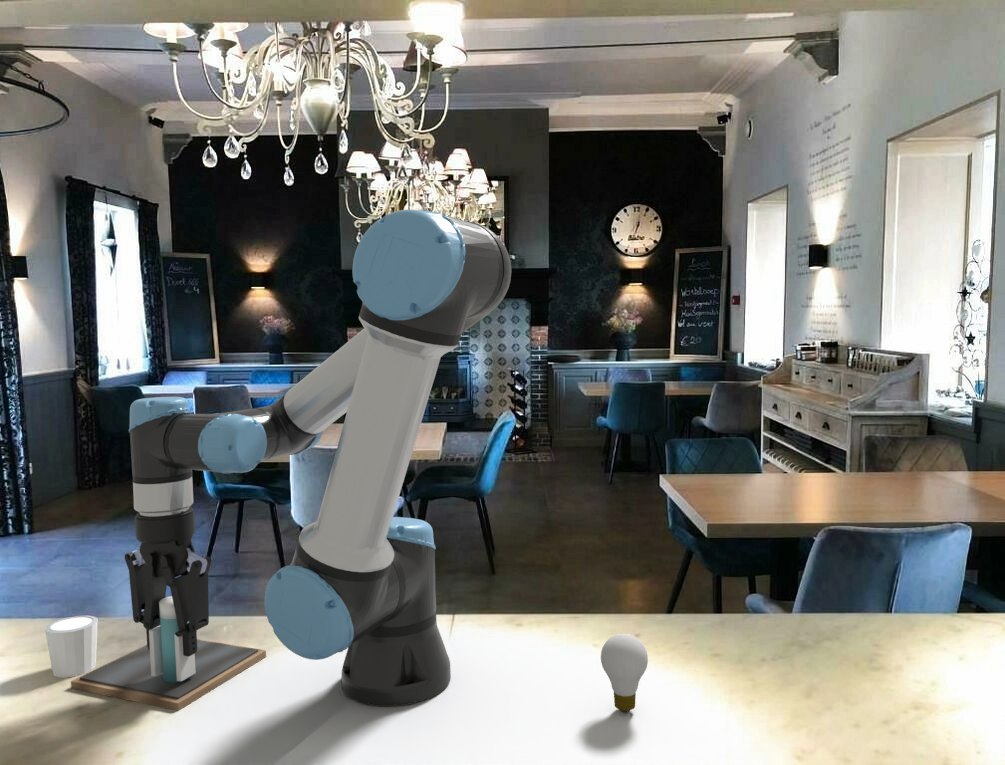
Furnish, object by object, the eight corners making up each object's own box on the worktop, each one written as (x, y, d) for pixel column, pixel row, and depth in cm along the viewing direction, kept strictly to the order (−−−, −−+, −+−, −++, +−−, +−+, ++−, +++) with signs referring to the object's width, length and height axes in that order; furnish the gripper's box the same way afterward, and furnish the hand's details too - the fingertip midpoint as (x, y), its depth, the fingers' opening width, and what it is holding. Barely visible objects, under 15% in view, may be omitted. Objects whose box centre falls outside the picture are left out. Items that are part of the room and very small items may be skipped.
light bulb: (637, 727, 95) (636, 648, 94) (593, 716, 98) (592, 638, 97) (655, 707, 100) (654, 631, 99) (613, 696, 103) (611, 623, 102)
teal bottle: (199, 671, 110) (196, 595, 110) (182, 683, 107) (177, 605, 106) (175, 668, 111) (171, 594, 111) (157, 681, 108) (152, 604, 107)
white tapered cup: (77, 680, 111) (74, 633, 111) (36, 677, 113) (33, 630, 112) (110, 660, 118) (108, 615, 118) (71, 657, 119) (68, 613, 119)
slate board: (266, 656, 118) (265, 648, 118) (178, 710, 102) (178, 700, 102) (167, 640, 125) (167, 632, 125) (71, 688, 109) (70, 679, 109)
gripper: (232, 507, 107) (240, 672, 108) (140, 499, 113) (148, 655, 115) (192, 520, 100) (201, 696, 101) (96, 511, 106) (106, 676, 108)
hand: (173, 674), depth 108 cm, fingers closed on teal bottle, 4 cm apart
